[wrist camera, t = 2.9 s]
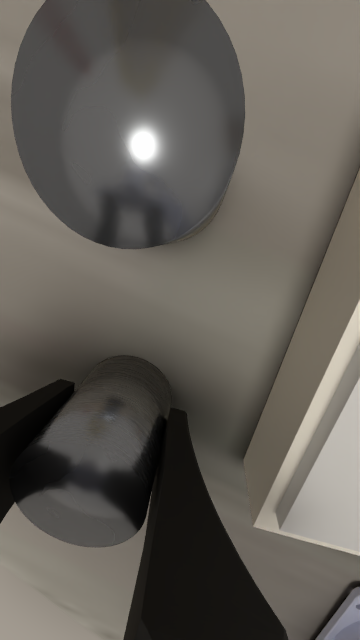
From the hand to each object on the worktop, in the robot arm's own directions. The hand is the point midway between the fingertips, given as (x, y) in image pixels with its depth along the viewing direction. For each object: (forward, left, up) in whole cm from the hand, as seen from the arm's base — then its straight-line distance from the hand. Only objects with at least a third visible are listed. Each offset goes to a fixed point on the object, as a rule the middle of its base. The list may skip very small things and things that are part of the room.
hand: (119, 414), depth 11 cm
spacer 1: (+9, 0, -2) cm, 9 cm away
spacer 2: (0, 0, -1) cm, 1 cm away
